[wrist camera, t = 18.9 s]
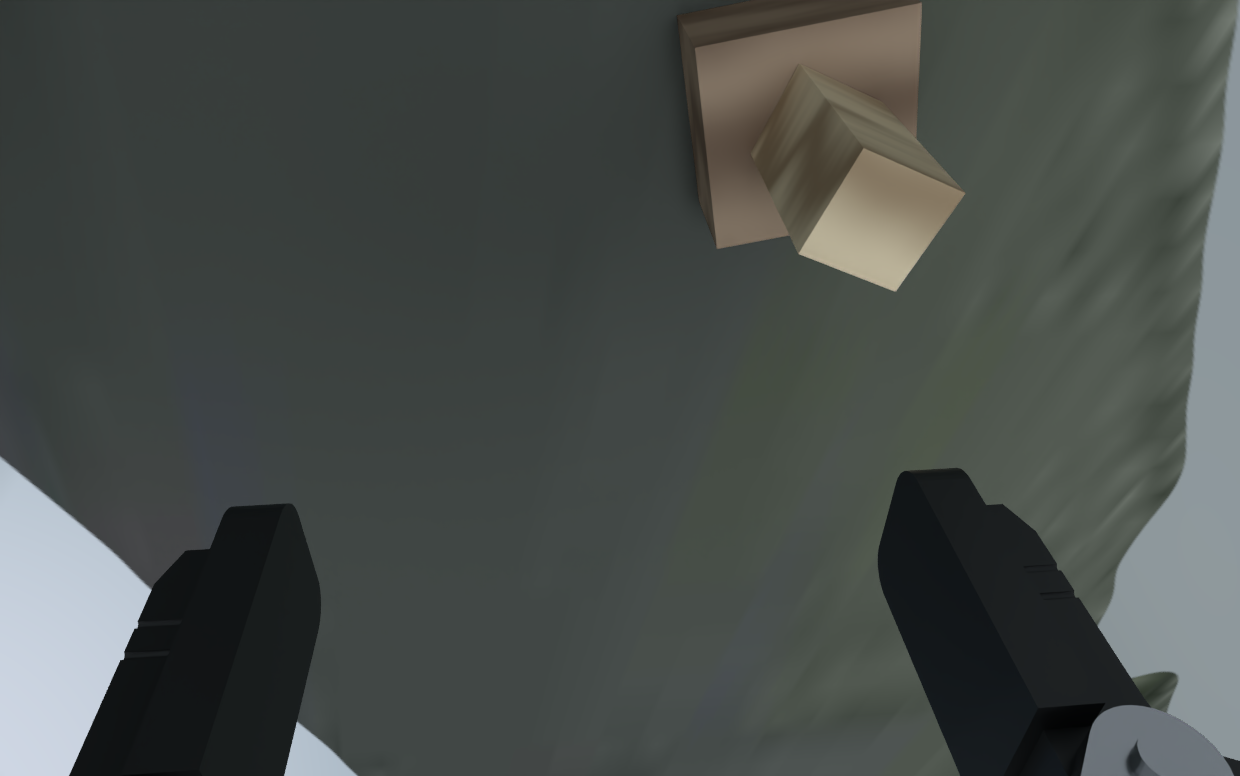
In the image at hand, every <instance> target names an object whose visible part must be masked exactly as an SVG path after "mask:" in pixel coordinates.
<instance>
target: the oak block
mask: <svg viewBox="0 0 1240 776" xmlns="http://www.w3.org/2000/svg"><path fill="white" fill-rule="evenodd" d="M751 156H752V158H753V160H754V162H755V164H756V166H757V168H758V170H759V172H760V174H761V177H762V179H763V181H764V183H765V185H766V187H767V189H768V191H769V193H770V195H771V198H772V200H773V202H774V204H775V206H776V208H777V210H778V212H779V214H780V216H781V218H782V221H783V223H784V225H785V227H786V229H787V231H788V233H789V235H790V237H791V239H792V242H793V244H794V246H795V248H796V250H797V252H798V254H800V255H803V256H805V257H808V258H810V259H813V260H815V261H818V262H821V263H823V264H826V265H828V266H831V267H833V268H836V269H839V270H841V271H844V272H846V273H849V274H851V275H854V276H857V277H859V278H862V279H864V280H867V281H869V282H872V283H874V284H877V285H880V286H882V287H885V288H887V289H890V290H892V291H895V292H896V290H897V289H898V287H899V286H900V285H901V283H902V282H903V280H904V279H905V278H906V276H907V275H908V273H909V272H910V271H911V269H912V268H913V266H914V265H915V264H916V262H917V261H918V259H919V258H920V256H921V255H922V254H923V252H924V251H925V249H926V248H927V247H928V245H929V244H930V242H931V241H932V240H933V238H934V237H935V235H936V234H937V233H938V231H939V230H940V228H941V227H942V226H943V224H944V223H945V221H946V220H947V218H948V217H949V216H950V214H951V213H952V211H953V210H954V209H955V207H956V206H957V204H958V203H959V202H960V200H961V199H962V197H963V196H964V195H965V192H964V191H963V190H962V189H961V188H960V187H959V185H958V184H957V183H956V182H955V181H954V180H953V179H952V178H951V177H950V176H949V175H948V173H947V172H946V171H945V170H944V169H943V168H942V167H941V166H940V165H939V164H938V162H937V161H936V160H935V159H934V158H933V157H932V156H931V155H930V154H929V153H928V151H927V150H926V149H925V148H924V147H923V146H922V145H921V144H920V143H919V142H918V141H917V139H916V138H915V137H914V136H913V135H912V134H911V133H910V132H909V131H908V130H907V128H906V127H905V126H904V125H903V124H902V123H901V122H900V121H899V120H898V119H897V117H896V116H895V115H894V114H893V113H892V112H891V111H890V110H889V109H888V108H887V107H886V105H885V104H884V103H883V102H881V101H879V100H877V99H875V98H872V97H870V96H868V95H866V94H864V93H862V92H859V91H857V90H855V89H853V88H851V87H849V86H847V85H844V84H842V83H840V82H838V81H836V80H834V79H831V78H829V77H827V76H825V75H823V74H821V73H819V72H816V71H814V70H812V69H810V68H808V67H806V66H803V65H801V64H799V65H798V67H797V69H796V70H795V72H794V74H793V76H792V78H791V80H790V81H789V83H788V85H787V87H786V89H785V91H784V93H783V94H782V96H781V98H780V100H779V102H778V104H777V105H776V107H775V109H774V111H773V113H772V115H771V117H770V118H769V120H768V122H767V124H766V126H765V128H764V129H763V131H762V133H761V135H760V137H759V139H758V141H757V142H756V144H755V146H754V148H753V150H752V152H751Z"/></svg>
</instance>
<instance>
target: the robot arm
mask: <svg viewBox="0 0 1240 776" xmlns="http://www.w3.org/2000/svg"><path fill="white" fill-rule="evenodd" d="M878 571H879V578H880V583H881V587H882V590H883V593H884V596H885V598H886V600H887V603H888V605H889V607H890V610H891V612H892V615H893V617H894V619H895V622H896V624H897V626H898V629H899V631H900V634H901V636H902V638H903V641H904V643H905V645H906V648H907V650H908V653H909V655H910V657H911V660H912V662H913V664H914V667H915V669H916V672H917V674H918V676H919V679H920V681H921V683H922V686H923V688H924V691H925V693H926V695H927V698H928V700H929V702H930V705H931V707H932V710H933V712H934V714H935V717H936V719H937V721H938V724H939V726H940V729H941V731H942V733H943V736H944V738H945V740H946V743H947V745H948V748H949V750H950V752H951V755H952V757H953V759H954V762H955V764H956V767H957V769H958V771H959V774H960V776H1240V761H1238V760H1234V759H1230V758H1227V757H1224V756H1222V755H1221V754H1220V752H1219V751H1218V750H1217V749H1216V747H1215V746H1214V745H1213V744H1212V743H1210V741H1209V740H1207V739H1206V738H1205V737H1204V736H1203V735H1202V734H1201V733H1199V732H1198V731H1197V730H1195V729H1194V728H1193V727H1191V726H1190V725H1188V724H1187V723H1185V722H1183V721H1181V720H1180V719H1178V718H1176V717H1174V716H1172V715H1170V714H1168V713H1165V712H1162V711H1160V710H1157V709H1153V708H1151V707H1150V706H1149V704H1148V703H1147V701H1146V700H1145V699H1144V697H1143V696H1142V694H1141V693H1140V691H1139V690H1138V688H1137V687H1136V685H1135V684H1134V682H1133V681H1132V679H1131V677H1130V676H1129V675H1128V673H1127V672H1126V670H1125V668H1124V667H1123V665H1122V664H1121V662H1120V661H1119V659H1118V657H1117V656H1116V654H1115V653H1114V651H1113V650H1112V648H1111V647H1110V645H1109V644H1108V642H1107V641H1106V639H1105V637H1104V636H1103V634H1102V633H1101V631H1100V630H1099V628H1098V627H1097V625H1096V623H1095V622H1094V620H1093V619H1092V617H1091V616H1090V614H1089V613H1088V611H1087V610H1086V608H1085V606H1084V605H1083V603H1082V602H1081V600H1080V599H1079V598H1075V596H1074V590H1073V588H1072V586H1071V585H1070V583H1069V582H1068V580H1067V579H1066V577H1065V576H1064V574H1063V573H1062V571H1058V570H1057V563H1056V562H1055V560H1054V559H1053V557H1052V556H1051V554H1050V552H1049V551H1048V549H1047V548H1046V546H1045V545H1044V543H1043V542H1042V540H1041V539H1040V537H1039V536H1038V534H1037V532H1036V531H1035V530H1033V529H1032V528H1031V527H1030V526H1029V525H1027V524H1026V523H1025V522H1024V521H1022V520H1021V519H1020V518H1019V517H1018V516H1016V515H1015V514H1014V513H1013V512H1012V511H1010V510H1009V509H1008V508H1007V507H1005V506H1004V505H1003V504H998V505H986V504H985V503H984V501H983V499H982V498H981V496H980V494H979V493H978V491H977V489H976V488H975V486H974V484H973V483H972V481H971V479H970V478H969V476H968V475H967V474H966V473H965V472H964V471H963V470H962V469H959V468H949V469H931V470H913V471H904V472H902V473H901V474H900V475H899V477H898V479H897V482H896V486H895V489H894V493H893V497H892V500H891V504H890V508H889V512H888V515H887V519H886V523H885V526H884V530H883V534H882V538H881V541H880V545H879V550H878ZM320 614H321V595H320V586H319V581H318V578H317V574H316V571H315V568H314V565H313V561H312V558H311V555H310V551H309V548H308V545H307V542H306V538H305V535H304V532H303V529H302V525H301V522H300V519H299V516H298V513H297V510H296V508H295V507H294V506H293V505H292V504H272V505H254V506H236V507H230V508H229V509H228V510H227V511H226V512H225V513H224V515H223V518H222V520H221V522H220V525H219V527H218V530H217V532H216V535H215V538H214V540H213V543H212V545H211V548H210V549H205V550H188V551H185V552H184V553H183V554H182V555H181V556H180V557H179V559H178V560H177V561H176V562H175V563H174V564H173V565H172V566H171V567H170V568H169V569H168V570H167V571H166V572H165V573H164V574H163V575H162V576H161V578H160V579H159V580H158V581H157V582H156V583H155V584H154V586H153V588H152V591H151V593H150V595H149V597H148V600H147V602H146V604H145V606H144V609H143V611H142V613H141V615H140V618H139V620H138V628H137V629H134V632H133V633H132V636H131V638H130V640H129V642H128V645H127V647H126V649H125V651H124V653H125V658H124V660H120V663H119V665H118V667H117V669H116V672H115V674H114V676H113V678H112V681H111V683H110V685H109V687H108V690H107V692H106V694H105V696H104V699H103V701H102V703H101V705H100V708H99V710H98V712H97V714H96V717H95V719H94V721H93V723H92V726H91V728H90V730H89V732H88V735H87V737H86V739H85V741H84V744H83V746H82V748H81V750H80V753H79V755H78V757H77V759H76V762H75V764H74V766H73V768H72V771H71V773H70V775H69V776H284V774H285V769H286V765H287V761H288V757H289V752H290V748H291V744H292V740H293V735H294V731H295V727H296V723H297V719H298V714H299V710H300V706H301V702H302V697H303V693H304V689H305V685H306V680H307V676H308V672H309V668H310V663H311V659H312V655H313V651H314V646H315V642H316V638H317V634H318V629H319V623H320Z"/></svg>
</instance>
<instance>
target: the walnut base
mask: <svg viewBox="0 0 1240 776" xmlns="http://www.w3.org/2000/svg"><path fill="white" fill-rule="evenodd" d="M921 16H922V2H920V1H919V0H751V1H746V2H741V3H736V4H731V5H726V6H721V7H716V8H711V9H706V10H701V11H696V12H691V13H686V14H681V15H677V21H678V30H679V38H680V46H681V55H682V63H683V71H684V80H685V88H686V97H687V105H688V113H689V122H690V130H691V138H692V147H693V155H694V163H695V172H696V180H697V189H698V197H699V203H700V205H701V208H702V210H703V213H704V216H705V218H706V221H707V224H708V226H709V229H710V232H711V234H712V237H713V239H714V242H715V245H716V247H717V249H720V248H725V247H730V246H736V245H741V244H746V243H751V242H756V241H762V240H767V239H772V238H777V237H783V236H788V235H789V233H788V231H787V229H786V227H785V225H784V223H783V221H782V218H781V216H780V214H779V212H778V210H777V208H776V206H775V204H774V202H773V200H772V198H771V195H770V193H769V191H768V189H767V187H766V185H765V183H764V181H763V179H762V177H761V174H760V172H759V170H758V168H757V166H756V164H755V162H754V160H753V158H752V156H751V152H752V150H753V148H754V146H755V144H756V142H757V141H758V139H759V137H760V135H761V133H762V131H763V129H764V128H765V126H766V124H767V122H768V120H769V118H770V117H771V115H772V113H773V111H774V109H775V107H776V105H777V104H778V102H779V100H780V98H781V96H782V94H783V93H784V91H785V89H786V87H787V85H788V83H789V81H790V80H791V78H792V76H793V74H794V72H795V70H796V69H797V67H798V65H799V64H801V65H803V66H806V67H808V68H810V69H812V70H814V71H816V72H819V73H821V74H823V75H825V76H827V77H829V78H831V79H834V80H836V81H838V82H840V83H842V84H844V85H847V86H849V87H851V88H853V89H855V90H857V91H859V92H862V93H864V94H866V95H868V96H870V97H872V98H875V99H877V100H879V101H881V102H883V103H884V104H885V105H886V107H887V108H888V109H889V110H890V111H891V112H892V113H893V114H894V115H895V116H896V117H897V119H898V120H899V121H900V122H901V123H902V124H903V125H904V126H905V127H906V128H907V130H908V131H909V132H910V133H911V134H912V135H913V136H914V137H915V138H916V130H917V107H918V84H919V61H920V39H921Z"/></svg>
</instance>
